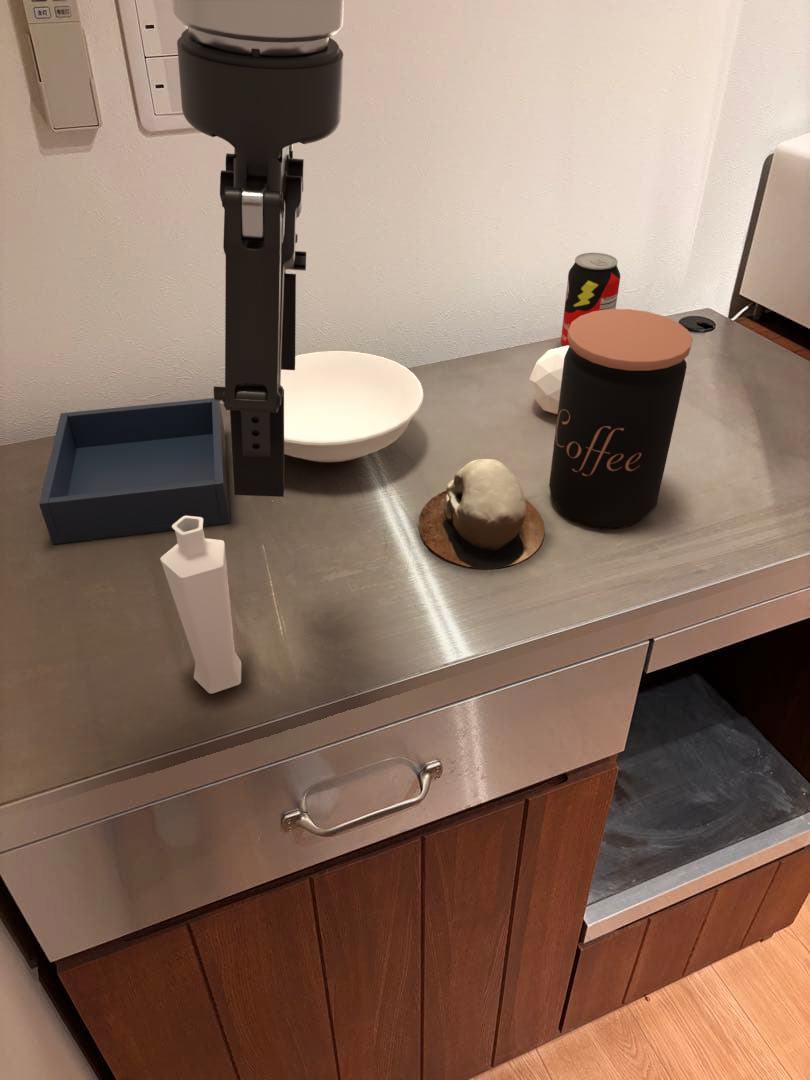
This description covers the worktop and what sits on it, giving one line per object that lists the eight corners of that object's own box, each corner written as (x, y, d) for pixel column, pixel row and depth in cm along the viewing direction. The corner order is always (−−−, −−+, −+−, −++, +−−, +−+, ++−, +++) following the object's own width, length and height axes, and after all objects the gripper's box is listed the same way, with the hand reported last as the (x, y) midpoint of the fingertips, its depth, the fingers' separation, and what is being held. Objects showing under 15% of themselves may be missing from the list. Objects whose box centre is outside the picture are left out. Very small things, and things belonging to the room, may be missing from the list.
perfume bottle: (261, 674, 68) (236, 524, 58) (214, 704, 65) (181, 552, 56) (228, 644, 70) (199, 496, 61) (182, 672, 68) (145, 522, 59)
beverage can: (587, 336, 115) (599, 247, 107) (618, 354, 111) (633, 263, 103) (550, 346, 112) (559, 256, 105) (580, 365, 108) (592, 273, 101)
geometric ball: (540, 428, 102) (509, 369, 100) (597, 394, 102) (567, 335, 100) (562, 430, 94) (528, 366, 93) (623, 393, 95) (591, 329, 93)
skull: (394, 494, 85) (463, 417, 81) (466, 538, 90) (533, 468, 87) (426, 567, 75) (505, 483, 72) (504, 611, 81) (580, 535, 78)
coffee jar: (526, 500, 86) (542, 333, 74) (590, 459, 91) (614, 298, 80) (614, 548, 80) (647, 374, 68) (677, 501, 85) (717, 333, 74)
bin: (52, 544, 81) (38, 503, 78) (71, 451, 93) (60, 413, 90) (230, 523, 83) (223, 482, 80) (225, 435, 96) (219, 397, 93)
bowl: (223, 420, 98) (215, 370, 94) (383, 386, 104) (381, 338, 100) (272, 515, 84) (264, 460, 80) (453, 469, 90) (455, 417, 86)
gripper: (342, 122, 30) (325, 563, 44) (344, -11, 48) (331, 329, 62) (122, 104, 29) (175, 558, 43) (209, -24, 48) (227, 323, 62)
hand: (268, 423), depth 53 cm, fingers open, 13 cm apart
